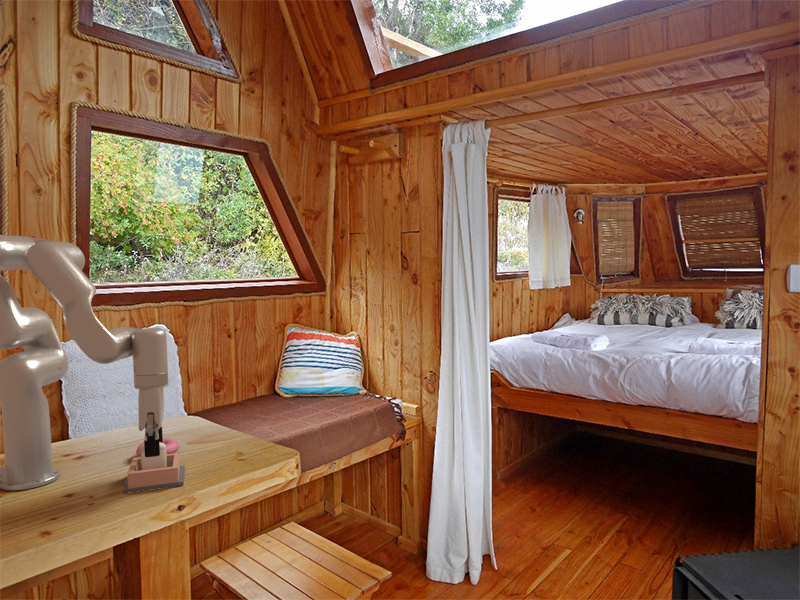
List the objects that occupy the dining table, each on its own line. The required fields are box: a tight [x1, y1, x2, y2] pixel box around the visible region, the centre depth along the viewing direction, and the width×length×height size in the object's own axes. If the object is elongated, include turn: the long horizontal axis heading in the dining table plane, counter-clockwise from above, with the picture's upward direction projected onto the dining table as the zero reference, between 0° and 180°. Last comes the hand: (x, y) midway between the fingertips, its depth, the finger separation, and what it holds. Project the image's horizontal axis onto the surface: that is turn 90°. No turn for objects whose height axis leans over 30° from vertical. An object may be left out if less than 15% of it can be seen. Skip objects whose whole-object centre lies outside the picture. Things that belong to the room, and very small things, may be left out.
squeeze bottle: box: [141, 436, 167, 470], centre depth 135 cm, size 4×6×12 cm
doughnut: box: [135, 437, 180, 458], centre depth 153 cm, size 11×11×4 cm
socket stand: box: [122, 452, 186, 494], centre depth 136 cm, size 13×11×4 cm
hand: (154, 449), depth 135 cm, fingers open, 9 cm apart
